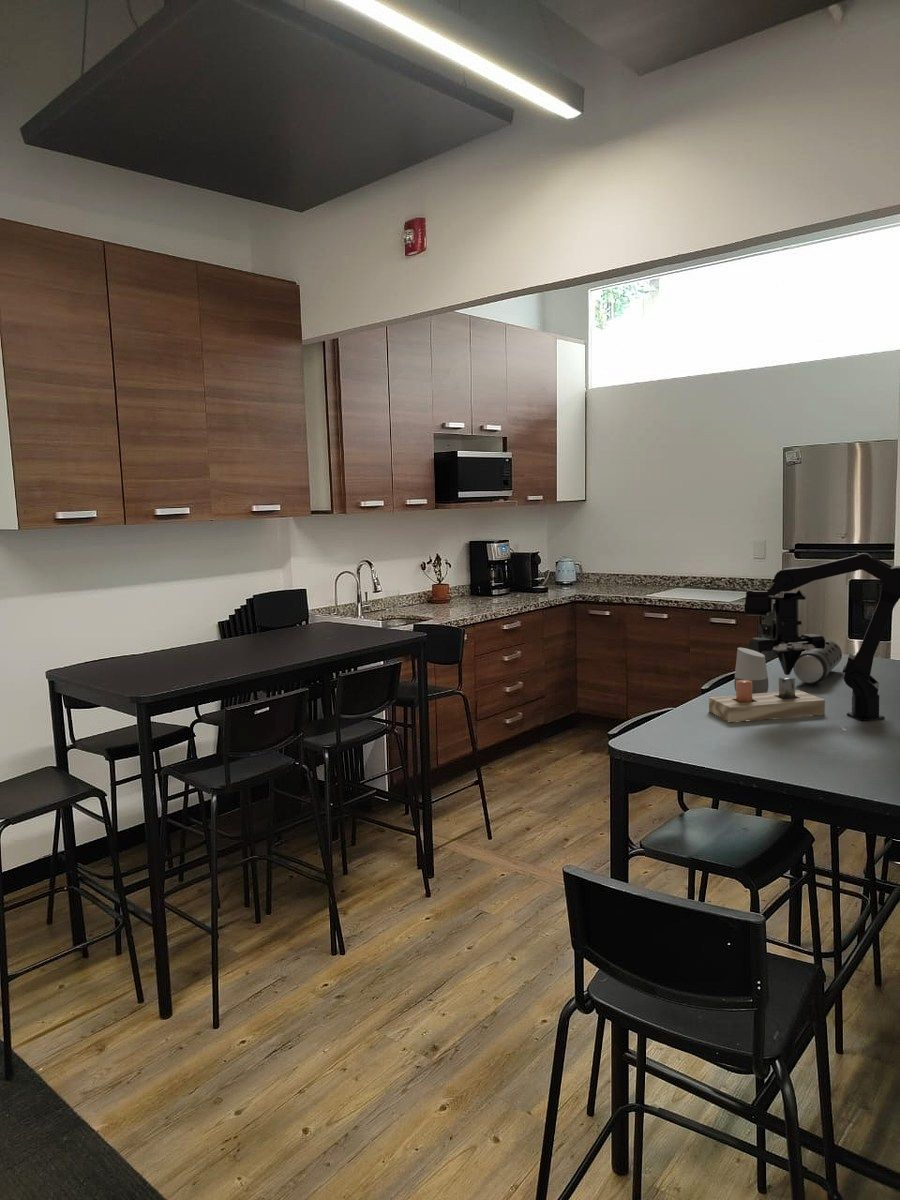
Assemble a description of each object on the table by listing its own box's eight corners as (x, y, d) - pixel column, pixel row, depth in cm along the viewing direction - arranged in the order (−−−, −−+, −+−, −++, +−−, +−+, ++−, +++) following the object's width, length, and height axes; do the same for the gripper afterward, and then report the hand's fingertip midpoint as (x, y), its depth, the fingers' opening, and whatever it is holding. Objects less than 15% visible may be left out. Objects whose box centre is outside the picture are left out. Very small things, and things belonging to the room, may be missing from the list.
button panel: (824, 714, 211) (824, 699, 210) (730, 722, 208) (729, 707, 207) (799, 704, 223) (799, 690, 222) (709, 711, 219) (708, 697, 219)
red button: (755, 703, 212) (755, 682, 212) (740, 704, 212) (740, 683, 211) (747, 699, 216) (747, 679, 216) (733, 700, 216) (733, 680, 215)
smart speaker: (769, 700, 229) (769, 651, 227) (734, 699, 232) (734, 651, 230) (767, 692, 238) (767, 645, 236) (734, 692, 241) (733, 645, 239)
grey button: (798, 699, 214) (798, 679, 213) (783, 700, 213) (783, 680, 213) (789, 696, 218) (789, 676, 217) (775, 697, 217) (775, 677, 217)
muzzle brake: (843, 671, 262) (843, 640, 261) (825, 689, 239) (825, 655, 238) (811, 669, 267) (811, 638, 266) (791, 686, 245) (791, 653, 244)
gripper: (802, 610, 222) (802, 666, 224) (738, 614, 220) (739, 671, 222) (826, 615, 211) (826, 674, 213) (759, 620, 209) (759, 679, 211)
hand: (787, 674), depth 215 cm, fingers closed
